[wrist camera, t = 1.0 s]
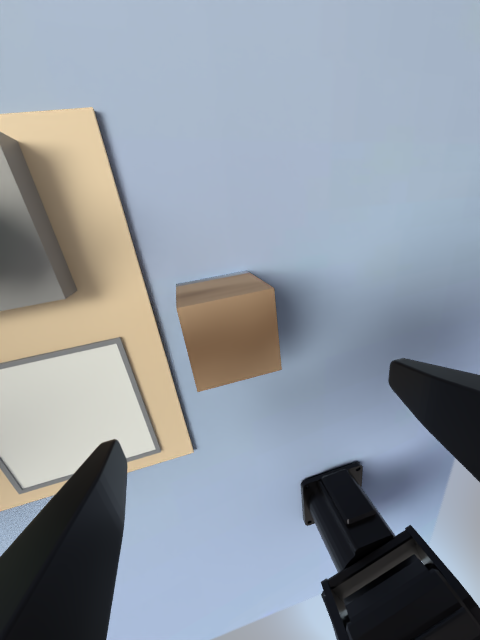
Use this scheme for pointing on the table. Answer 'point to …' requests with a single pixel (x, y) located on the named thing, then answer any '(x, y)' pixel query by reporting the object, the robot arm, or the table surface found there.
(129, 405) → the tan rectangular board
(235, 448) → the table surface
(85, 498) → the robot arm
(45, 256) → the button housing
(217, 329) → the block
